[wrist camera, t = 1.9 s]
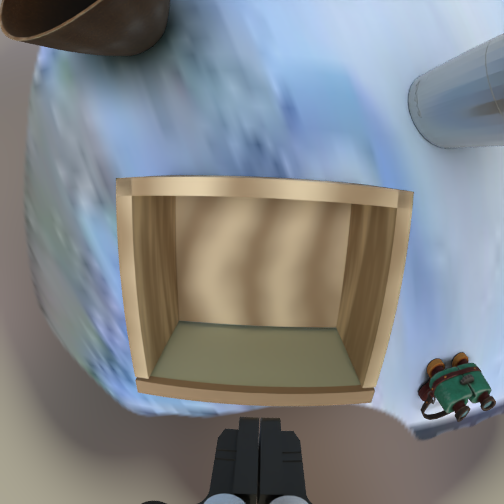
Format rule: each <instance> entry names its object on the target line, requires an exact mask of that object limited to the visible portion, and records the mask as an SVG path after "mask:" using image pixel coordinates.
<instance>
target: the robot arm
mask: <svg viewBox="0 0 504 504" xmlns="http://www.w3.org/2000/svg"><path fill="white" fill-rule="evenodd" d="M408 103H409V110H410V113H411V117H412V119H413V121H414V124H415V126H416V127H417V129H418V130H419V132H420V133H421V134H422V135H423V136H424V137H425V139H427V140H428V141H429V142H431V143H432V144H434V145H436V146H438V147H441V148H445V149H446V148H464V147H486V146H504V33H503V34H501V35H499V36H497V37H495V38H493V39H491V40H489V41H487V42H485V43H483V44H481V45H478V46H476V47H474V48H472V49H470V50H468V51H466V52H464V53H462V54H460V55H458V56H457V57H455V58H453V59H451V60H449V61H447V62H445V63H443V64H441V65H439V66H437V67H436V68H434V69H432V70H430V71H428V72H426V73H425V74H423V75H421V76H419V77H418V78H417V79H416V80H415V81H414V82H413V84H412V85H411V88H410V91H409V99H408ZM258 436H259V445H258ZM256 499H257V504H312V503H311V502H310V501H309V500H308V498H307V496H306V490H305V480H304V472H303V463H302V454H301V445H300V440H299V439H298V437H297V436H296V434H295V433H294V431H281V424H280V418H261V421H260V434H259V418H250V417H240V421H239V430H234V429H225V430H224V431H223V432H222V434H221V435H220V436H219V437H218V442H217V448H216V454H215V460H214V467H213V473H212V479H211V485H210V491H209V494H208V496H207V497H206V498H205V499H204V500H203V501H202V502H200V503H198V504H256ZM142 504H166V503H163V502H160V501H148V502H144V503H142Z"/></svg>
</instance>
